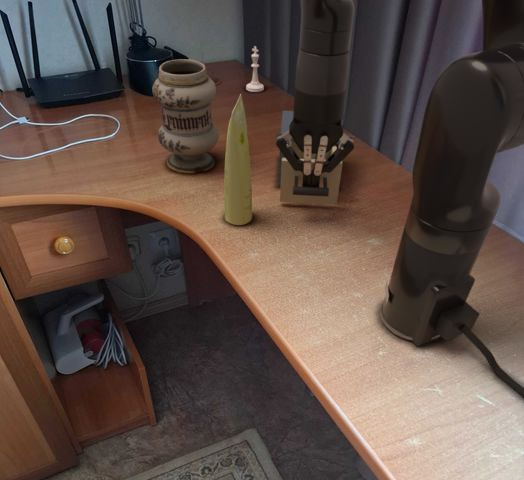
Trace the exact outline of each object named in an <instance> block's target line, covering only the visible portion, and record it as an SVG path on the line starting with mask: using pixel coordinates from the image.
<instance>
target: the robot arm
mask: <svg viewBox="0 0 524 480" xmlns="http://www.w3.org/2000/svg"><path fill="white" fill-rule="evenodd" d="M299 1H300V2H299V3H300V32H299V46H298V55H297V59H296V67H295V75H294V79H295V80H294V81H295V82H294V97H293V111H294V112H293V120H292V122H291V124H290V126H289V130H288V131H287V132H285V133H284V134H281V133H278V134H277V135H276V142H275V144H276V147H277V148H278V149H279V152H280V151H281V152H282V154H283V155H284V157H285V158H286V159H287V161H288V162H289V164H290V165H291V166H292V168H293V169H294V170H295V171H301V172H302V173H303V182H302V187H319V183H320V176H321V174H322V173H324V172H327V173H330V172H332V170H333V169H334V168H335V167H336V166H337V165H338V164H339V163H340V162H341V161H342V162H343V161H344V159H345V158H346V157H348V155H350V153H351V152H352V151H353V150H354V149H355V142H354V138H353V137H352V136H348V135H347V134H346V133H345V130H344V124H343V125H342V122H343V115H344V107H345V100H346V94H347V86H348V79H349V70H350V49H351V44H352V43H351V42H352V36H353V27H354V20H355V4H354V1H353V0H299ZM481 7H482V49H481V50H482V51H477V52H472V53H468V54H465V55H462V56H459V57H457V58H456V59H454V60H452V61H451V62H450V63H448V64H447V65H446V66H445V68H444V69H443V70H442V71H441V72H440V73H439V75H438V77H437V79H436V80H435V82H434V84H433V86H432V89H431V90H430V93H429V96H428V99H427V102H426V106H425V109H424V113H423V118H422V123H421V127H420V133H419V137H418V141H417V147H416V152H415V157H414V161H413V166H412V176H411V177H412V187H413V188H412V189H413V195H412V198H411V202H410V206H409V208H408V209H409V210H408V212H407V217H406V221H405V224H404V228H403V232H402V234H401V238H400V240H399V241H400V242H399V245H398V249H397V252H396V256H395V260H394V262H393V263H394V264H393V268H392V271H391V275H390V278H389V282H388V280H386V282H385V285H384V293H385V297H384V300H383V303H382V305H381V308H380V319H381V322H382V323H383V325H384V327H386V329H387V330H388V331H389V332H391V333H392V334H394V335H395V336H397V337H399V338H402V339H404V340H407V341H409V342H412V343H413V344H414V345H415V346H417V347H420V346H423V345H426V344H427V343H430V342H433V341H436V340H439V339H440V338H442V339H443V340H444V341H447V340H450V339H453V338H456V337H458V336H460V335H462V334H463V335H464V336H465V337H466V338H467V339H468V340H469V341H470V342H471V343H472V345H474V347H476V348H477V350H478V351H479V352H480V353H481V355H483V357H484V358H485V360H486V362H487V364H488V366H489V367H490V369H491V370H492V371H493V373H494V374H495V375H496V376H497V377H499V379H501V381H503V382H504V383H505V384H506V385H507V386H508V387H509V388H511V390H513V391H514V392H516V393H517V394H518V395H520V396H521V397H522V398H524V386H522V385H521V384H519V383H518V382H517V381H516V380H514V379H513V378H512V377H511V376H510V375H508V373H507V372H505V371H504V369H503V368H501V367H500V365H499V363H498V362H497V360H496V358H495V356H494V354H493V353H492V351H491V350H490V349H489V348H488V347H487V345H486V344H485V343H484V342H483V341H482V340H481V339H480V338H479V337H478V336H477V334H475V333H474V332H473V331H472V330H473V328H474V326H475V324H476V322H477V320H478V318H479V316H480V312H478V311H477V310H476V309H475V308H474V307H473V306H471V304H469V302H467V300H468V298H469V295H470V293H471V291H472V288H473V286H474V285H475V282H476V279H475V277H474V276H472V275H471V273H472V271H473V268H474V266H475V263H476V261H477V259H478V256H479V254H480V252H481V250H482V247H483V245H484V243H485V240H486V238H487V236H488V234H489V231H490V229H491V227H492V224H493V222H494V219H495V217H496V215H497V213H498V210H499V208H500V204H501V199H502V198H501V197H502V196H501V193H500V191H499V189H498V188H497V186H496V185H495V184H494V183H492V182H491V181H489V180H488V179H489V176H490V172H491V170H492V167H493V163H494V161H495V159H496V155H497V154H499V153H502V152H505V151H509V150H512V149H515V148H518V147H521V146H524V0H481ZM291 138H293V140H294V141H295V143H296V144H297V146H298V148H299V149H300V150H301V151H302V152H304V161H302V160H300V158H299V157H298V155H297V154H296V152H295V151H294V149H293V148H292V146H291V145H292V140H291ZM339 139H340V141H339ZM338 141H339V143H338V148H337V149H336V150H335V151H334V152H333V153H332V154H331V155H330V156H329V157H328V159H327V160H326V161H324V158H325V153H327V152H329V151H330V150H331V148H332V147H333V146H334V145H335V144H336V143H337V142H338ZM314 153H315V154H316V157H315V162H314V168H313V170H311V154H314Z"/></svg>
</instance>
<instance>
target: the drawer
mask: <svg viewBox="0 0 524 480" xmlns="http://www.w3.org/2000/svg"><path fill="white" fill-rule="evenodd" d="M291 146H292V148H293V149H294V151H295V152H296V154H297V155H298V157H299V158H300V160H302V161H304V152H302V151H301V150H300V149H299V148H298V146H297V144H296V143H295V142H292V145H291ZM336 149H337V145H336V144H335V145H334V146H333V147H332V148H331V150H330V151H329V152H327V153H325V158H324V161H326V160H327V159H328V157H329V156H330V155H331V154H332V153H333V152H334V151H335V150H336ZM315 157H316V154H315V153H314V154H311V170H313V168H314V162H315ZM342 170H343V160H342V161H341V162H340V163H339V164H338V165H337V166H336V167H335V168H334V169H333V170H332V172H330V173H327V172H324V173H322V174H321V176H320V183H319V187H302V182H303V173H302V172H301V171H295V170H294V169H293V168H292V166H291V165H290V164H289V162H288V161H287V159H286V158H282V167H281V187H279V188H280V192H279V202H280V203H288V204H289V203H290V204H291V203H292V204H310V205H311V204H312V205H330V206H337V205H338V198H339V192H340V191H339V190H340V185H341V177H342V172H343V171H342Z"/></svg>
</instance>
